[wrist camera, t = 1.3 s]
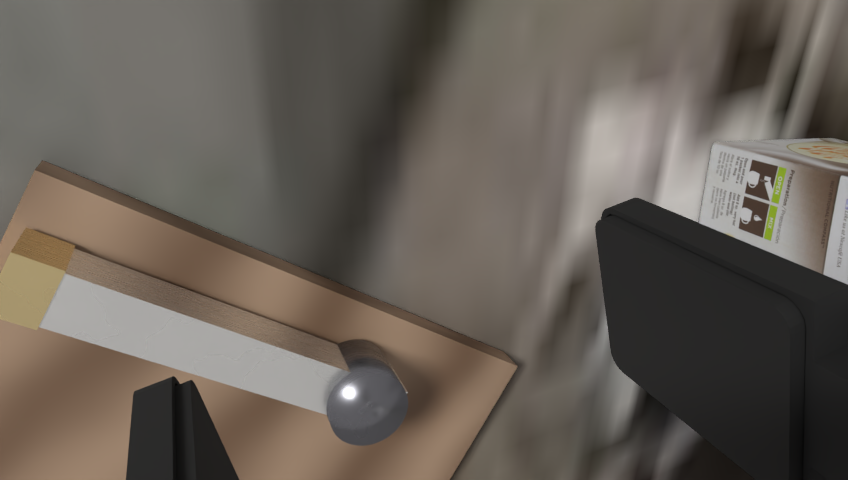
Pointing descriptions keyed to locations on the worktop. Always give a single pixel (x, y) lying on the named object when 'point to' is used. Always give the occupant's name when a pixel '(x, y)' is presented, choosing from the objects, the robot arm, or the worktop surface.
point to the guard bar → (200, 336)
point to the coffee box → (783, 199)
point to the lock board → (227, 406)
